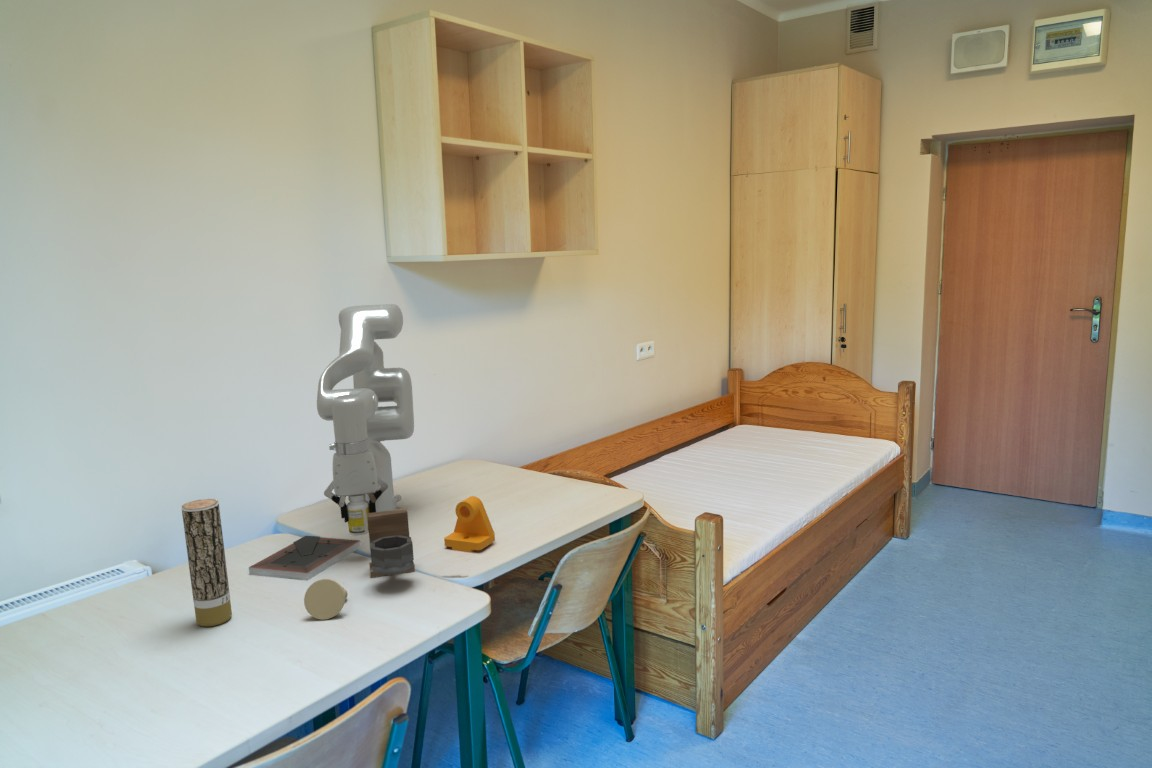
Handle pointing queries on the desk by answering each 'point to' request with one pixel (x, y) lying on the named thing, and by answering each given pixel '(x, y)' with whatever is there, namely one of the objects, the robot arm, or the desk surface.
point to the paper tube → (207, 562)
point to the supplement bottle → (358, 514)
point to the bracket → (470, 527)
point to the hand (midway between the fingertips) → (359, 518)
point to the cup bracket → (390, 543)
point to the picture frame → (305, 557)
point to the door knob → (324, 599)
